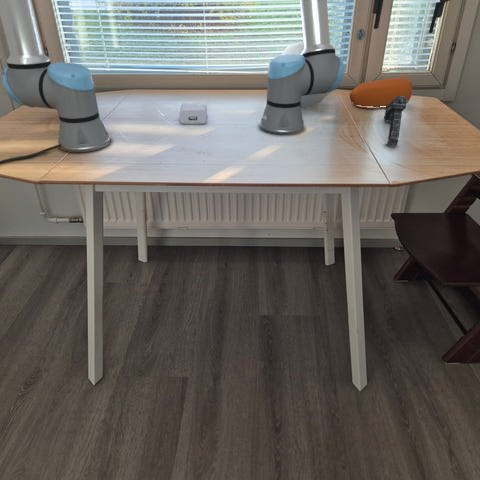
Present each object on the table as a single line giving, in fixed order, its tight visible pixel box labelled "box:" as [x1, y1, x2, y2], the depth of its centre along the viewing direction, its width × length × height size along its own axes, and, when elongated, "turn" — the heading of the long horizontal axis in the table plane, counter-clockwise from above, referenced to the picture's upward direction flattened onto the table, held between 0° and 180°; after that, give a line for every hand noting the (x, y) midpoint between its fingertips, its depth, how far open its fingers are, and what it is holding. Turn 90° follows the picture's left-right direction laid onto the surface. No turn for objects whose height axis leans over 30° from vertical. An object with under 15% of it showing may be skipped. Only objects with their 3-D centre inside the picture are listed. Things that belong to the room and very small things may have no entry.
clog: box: [349, 77, 413, 110], centre depth 164 cm, size 12×11×25 cm
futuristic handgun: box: [383, 96, 408, 147], centre depth 138 cm, size 4×29×15 cm, turn 164°
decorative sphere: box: [279, 40, 331, 109], centre depth 160 cm, size 24×25×25 cm
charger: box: [179, 102, 208, 125], centre depth 151 cm, size 5×9×15 cm
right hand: (402, 30), depth 105 cm, fingers open, 13 cm apart
